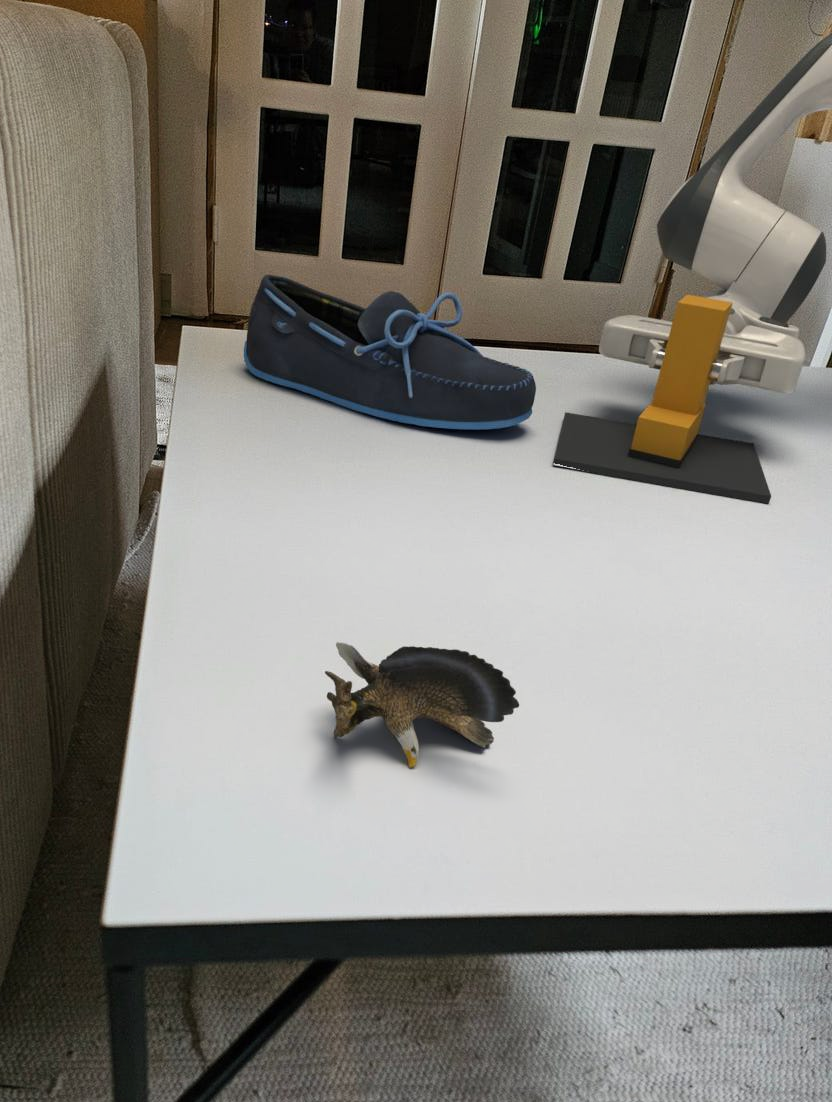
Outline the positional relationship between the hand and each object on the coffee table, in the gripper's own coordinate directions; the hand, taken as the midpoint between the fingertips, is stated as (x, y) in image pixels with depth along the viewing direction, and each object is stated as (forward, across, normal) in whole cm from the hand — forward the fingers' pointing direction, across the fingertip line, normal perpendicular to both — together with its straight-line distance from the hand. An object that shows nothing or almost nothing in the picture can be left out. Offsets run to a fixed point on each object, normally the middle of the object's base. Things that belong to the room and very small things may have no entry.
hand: (687, 366), depth 92 cm
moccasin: (+5, -30, +9) cm, 32 cm away
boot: (+1, 0, +8) cm, 8 cm away
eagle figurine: (+60, -2, +9) cm, 61 cm away
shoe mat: (+2, 0, +9) cm, 9 cm away
